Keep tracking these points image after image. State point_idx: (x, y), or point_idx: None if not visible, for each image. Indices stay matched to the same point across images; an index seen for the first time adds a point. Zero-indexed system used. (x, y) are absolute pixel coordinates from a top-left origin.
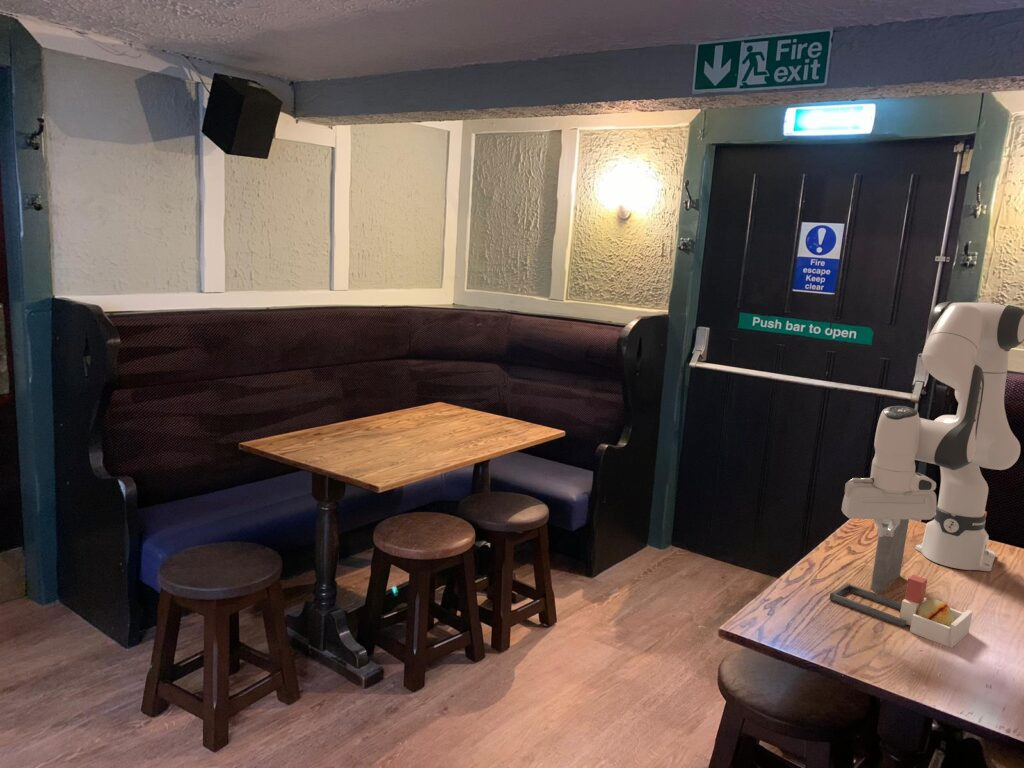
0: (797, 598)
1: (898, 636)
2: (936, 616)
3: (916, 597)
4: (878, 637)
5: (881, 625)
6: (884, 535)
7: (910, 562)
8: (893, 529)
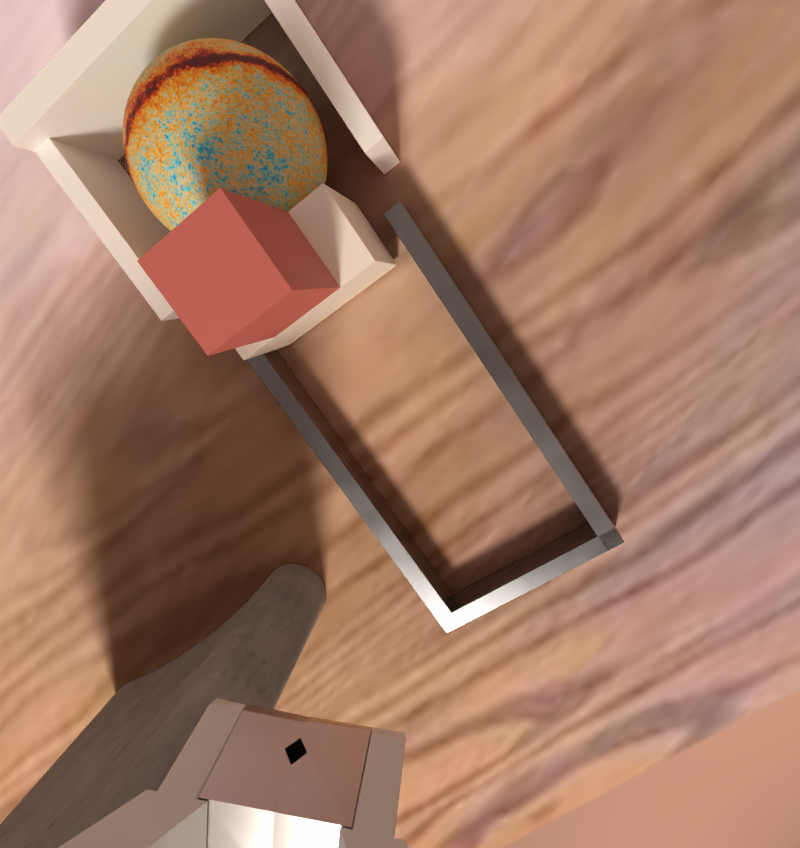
0: (794, 553)
1: (498, 109)
2: (260, 55)
3: (287, 225)
4: (629, 97)
5: (514, 239)
6: (344, 735)
7: (9, 785)
8: (160, 805)
